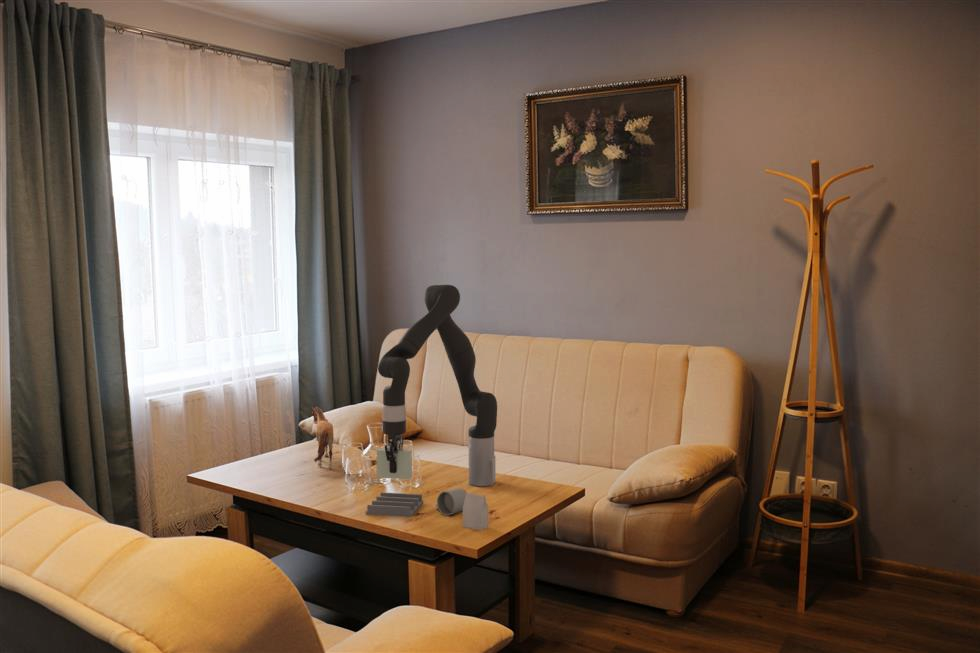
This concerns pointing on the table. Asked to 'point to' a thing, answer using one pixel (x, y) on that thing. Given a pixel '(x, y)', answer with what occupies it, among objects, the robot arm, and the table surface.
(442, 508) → the ceramic mug
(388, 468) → the green tile
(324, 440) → the horse figurine
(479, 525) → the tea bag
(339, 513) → the table surface
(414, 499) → the slot rack
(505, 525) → the table surface
